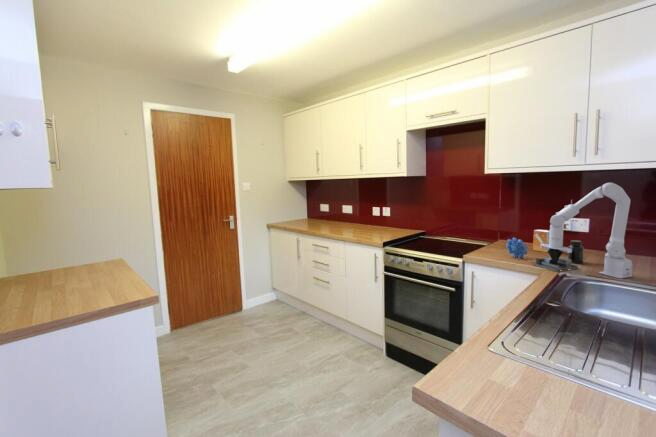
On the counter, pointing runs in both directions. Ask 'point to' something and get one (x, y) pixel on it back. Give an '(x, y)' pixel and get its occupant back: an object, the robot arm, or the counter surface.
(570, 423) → the counter surface
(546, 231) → the small box
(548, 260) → the blue-grey rectangular block
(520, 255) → the grapes
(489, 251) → the counter surface
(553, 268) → the heatsink base
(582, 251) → the supplement bottle
